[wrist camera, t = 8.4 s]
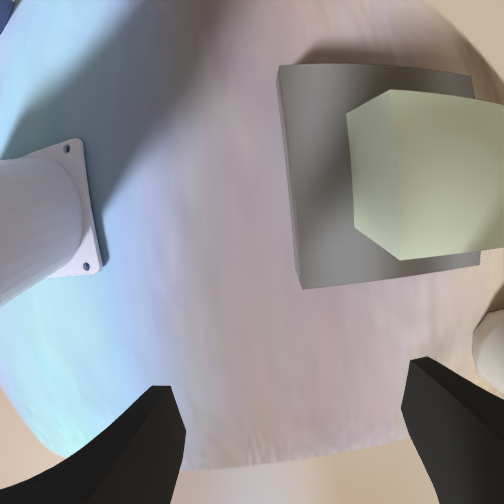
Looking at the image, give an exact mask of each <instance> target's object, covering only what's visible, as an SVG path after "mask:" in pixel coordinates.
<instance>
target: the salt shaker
mask: <svg viewBox="0 0 504 504" xmlns="http://www.w3.org/2000/svg"><path fill="white" fill-rule="evenodd" d="M472 354H473V358H474V362H475V366H476V370H477V373H478V374H479V376H480V377H481V378H482V379H484V380H485V381H486V382H488V383H489V384H490V385H492V386H493V387H495V388H496V389H498V390H499V391H500V392H502V393H503V394H504V309H501V310H497V311H493V312H488V313H487V315H486V316H485V317H484V319H483V320H482V321H481V323H480V324H479V325H478V327H477V328H476V329H475V331H474V332H473V343H472Z"/></svg>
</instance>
